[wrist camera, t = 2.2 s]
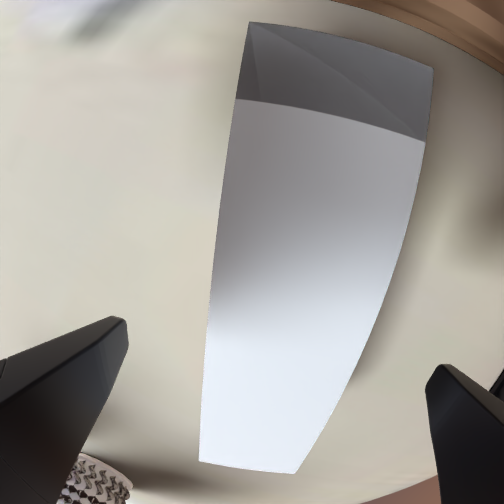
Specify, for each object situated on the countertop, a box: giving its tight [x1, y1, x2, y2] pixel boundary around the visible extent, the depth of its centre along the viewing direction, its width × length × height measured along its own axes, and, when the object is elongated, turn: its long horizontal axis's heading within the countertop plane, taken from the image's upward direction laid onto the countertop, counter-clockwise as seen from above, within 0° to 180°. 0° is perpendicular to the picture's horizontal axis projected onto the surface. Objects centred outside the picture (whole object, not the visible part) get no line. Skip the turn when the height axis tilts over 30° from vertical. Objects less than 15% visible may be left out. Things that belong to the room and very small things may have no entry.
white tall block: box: [199, 22, 434, 474], centre depth 10 cm, size 16×4×5 cm, turn 171°
